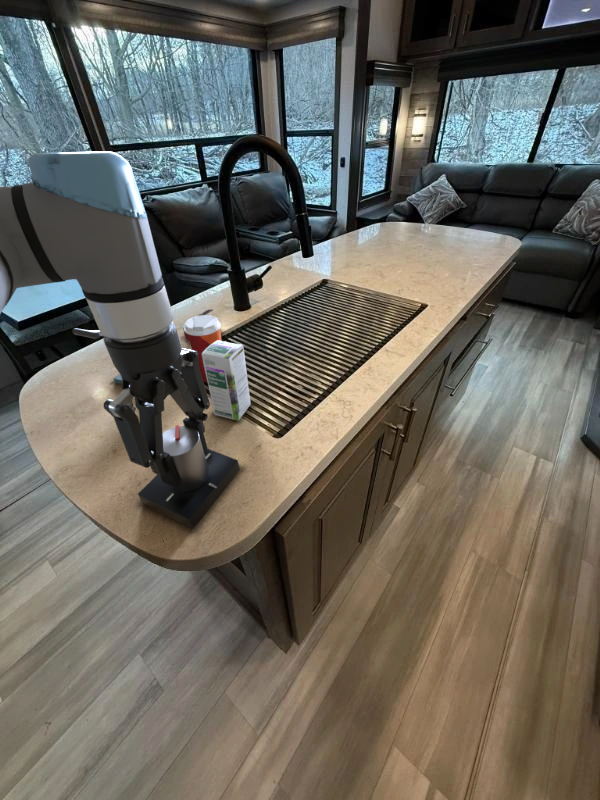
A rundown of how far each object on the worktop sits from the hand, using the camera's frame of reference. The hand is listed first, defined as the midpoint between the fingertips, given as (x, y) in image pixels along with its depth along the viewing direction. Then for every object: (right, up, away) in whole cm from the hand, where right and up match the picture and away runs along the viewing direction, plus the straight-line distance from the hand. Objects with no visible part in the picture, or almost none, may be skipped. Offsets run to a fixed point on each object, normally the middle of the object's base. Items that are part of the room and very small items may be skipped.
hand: (186, 466), depth 51 cm
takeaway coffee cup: (-10, +28, +44) cm, 54 cm away
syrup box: (+3, +8, +18) cm, 20 cm away
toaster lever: (-22, +23, +18) cm, 36 cm away
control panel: (0, -4, +3) cm, 5 cm away
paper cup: (-3, +16, +28) cm, 32 cm away
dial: (0, -2, +1) cm, 2 cm away
